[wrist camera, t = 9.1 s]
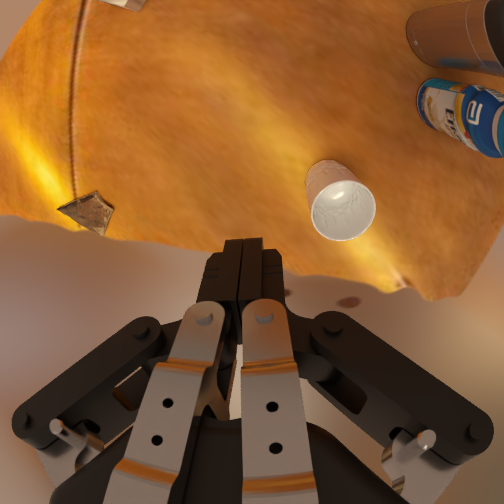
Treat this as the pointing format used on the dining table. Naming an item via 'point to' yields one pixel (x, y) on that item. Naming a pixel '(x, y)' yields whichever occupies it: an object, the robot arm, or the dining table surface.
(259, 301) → the robot arm
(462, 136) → the beverage bottle
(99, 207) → the shard
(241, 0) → the dining table surface
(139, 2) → the birch block
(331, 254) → the dining table surface
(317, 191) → the white cup
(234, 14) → the dining table surface
